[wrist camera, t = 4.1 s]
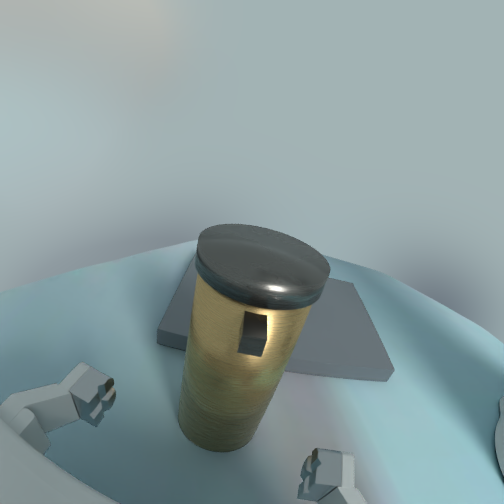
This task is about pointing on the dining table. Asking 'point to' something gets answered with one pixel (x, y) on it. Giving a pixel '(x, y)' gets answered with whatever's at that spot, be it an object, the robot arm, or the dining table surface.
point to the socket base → (306, 333)
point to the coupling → (243, 328)
